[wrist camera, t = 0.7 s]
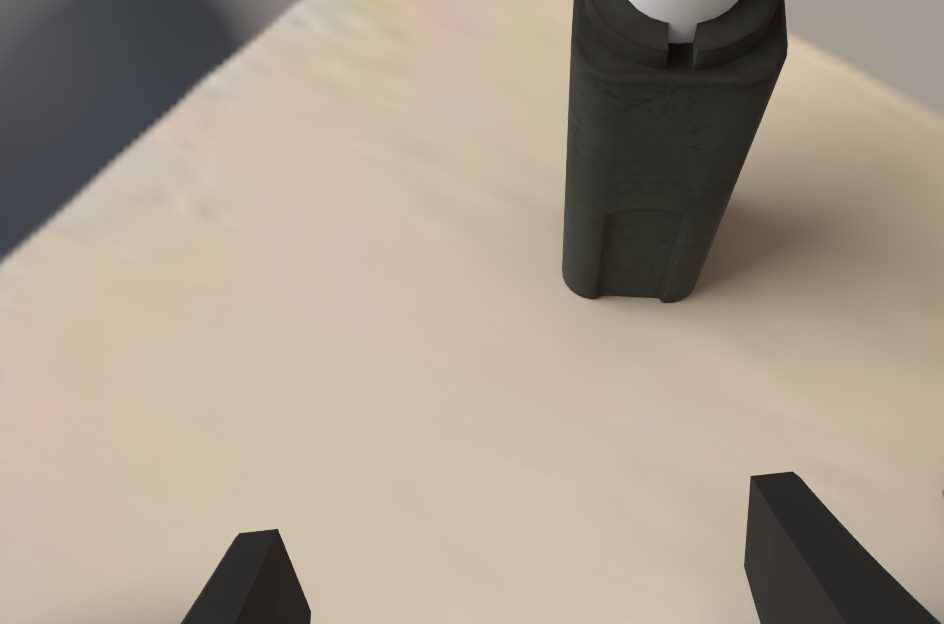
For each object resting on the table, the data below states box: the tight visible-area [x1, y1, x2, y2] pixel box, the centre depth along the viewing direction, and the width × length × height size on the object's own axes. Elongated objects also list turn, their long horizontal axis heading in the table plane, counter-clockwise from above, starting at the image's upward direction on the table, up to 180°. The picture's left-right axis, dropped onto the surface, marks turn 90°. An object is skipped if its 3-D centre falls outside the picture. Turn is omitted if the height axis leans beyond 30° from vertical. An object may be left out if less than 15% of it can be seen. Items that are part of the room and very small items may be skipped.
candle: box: [562, 0, 788, 303], centre depth 20 cm, size 5×5×25 cm
